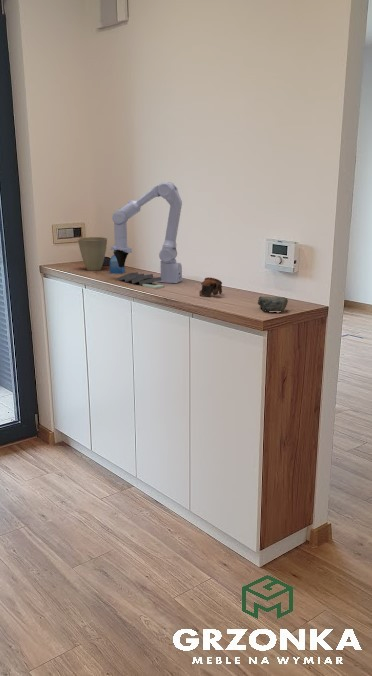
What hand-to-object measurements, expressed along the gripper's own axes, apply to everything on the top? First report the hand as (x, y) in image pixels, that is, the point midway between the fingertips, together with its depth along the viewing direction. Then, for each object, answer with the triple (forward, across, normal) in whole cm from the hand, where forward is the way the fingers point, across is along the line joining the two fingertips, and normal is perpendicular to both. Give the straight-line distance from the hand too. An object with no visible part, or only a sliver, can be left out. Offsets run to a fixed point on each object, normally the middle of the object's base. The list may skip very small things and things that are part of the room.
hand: (121, 266), depth 274 cm
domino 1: (+5, +2, 0) cm, 5 cm away
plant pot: (+6, -35, +6) cm, 36 cm away
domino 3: (+5, +12, 0) cm, 13 cm away
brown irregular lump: (+6, +54, +8) cm, 55 cm away
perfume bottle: (+6, -19, +10) cm, 22 cm away
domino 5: (+6, +20, 0) cm, 21 cm away
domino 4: (+5, +17, 0) cm, 17 cm away
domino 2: (+5, +6, 0) cm, 8 cm away
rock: (+6, +88, +6) cm, 89 cm away
